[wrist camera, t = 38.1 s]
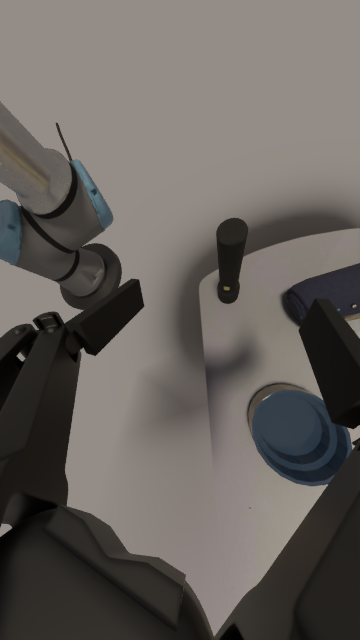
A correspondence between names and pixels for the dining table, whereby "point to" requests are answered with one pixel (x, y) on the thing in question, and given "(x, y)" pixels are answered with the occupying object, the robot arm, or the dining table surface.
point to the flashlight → (230, 257)
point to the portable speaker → (328, 293)
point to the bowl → (297, 435)
